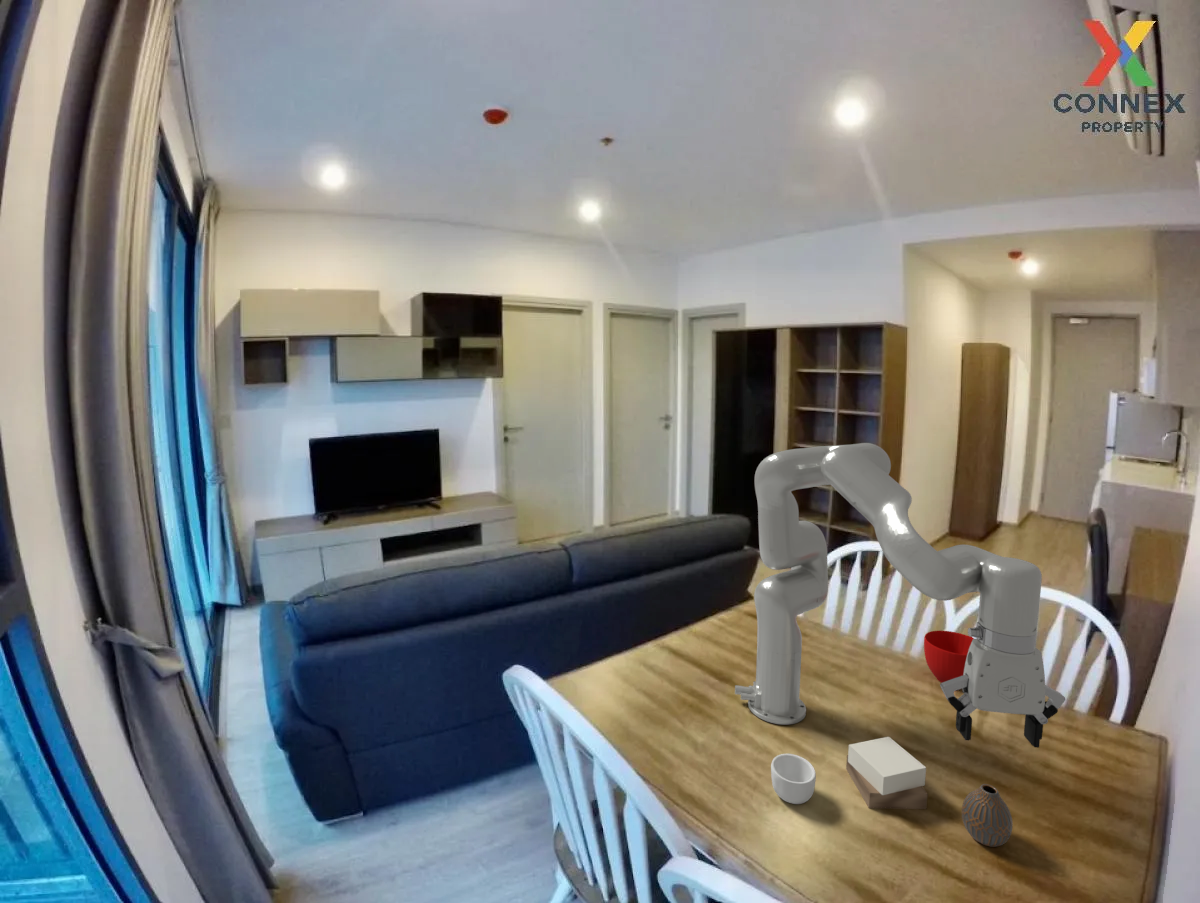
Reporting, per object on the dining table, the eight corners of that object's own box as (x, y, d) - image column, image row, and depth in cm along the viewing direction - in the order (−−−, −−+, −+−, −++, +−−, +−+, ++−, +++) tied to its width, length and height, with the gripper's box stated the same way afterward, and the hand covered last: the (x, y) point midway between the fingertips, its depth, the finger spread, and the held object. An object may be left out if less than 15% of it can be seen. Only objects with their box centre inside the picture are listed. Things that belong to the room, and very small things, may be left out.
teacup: (817, 814, 100) (819, 786, 99) (771, 807, 102) (773, 780, 101) (808, 774, 110) (810, 748, 109) (767, 769, 111) (768, 743, 110)
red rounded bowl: (997, 677, 143) (1001, 639, 142) (969, 701, 133) (973, 661, 132) (941, 657, 154) (944, 621, 152) (911, 677, 144) (914, 640, 142)
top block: (882, 795, 100) (883, 777, 100) (847, 761, 109) (848, 744, 108) (924, 785, 103) (926, 767, 102) (887, 753, 111) (888, 736, 111)
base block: (868, 810, 101) (869, 793, 101) (845, 771, 111) (846, 755, 111) (926, 811, 101) (927, 793, 101) (898, 771, 111) (899, 755, 111)
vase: (950, 822, 98) (954, 775, 97) (988, 819, 99) (993, 773, 97) (980, 856, 91) (985, 806, 90) (1020, 852, 92) (1026, 803, 91)
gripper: (954, 644, 88) (947, 747, 90) (1084, 653, 85) (1072, 760, 87) (936, 623, 95) (929, 719, 97) (1054, 631, 92) (1045, 730, 94)
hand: (997, 738), depth 92 cm, fingers open, 9 cm apart
